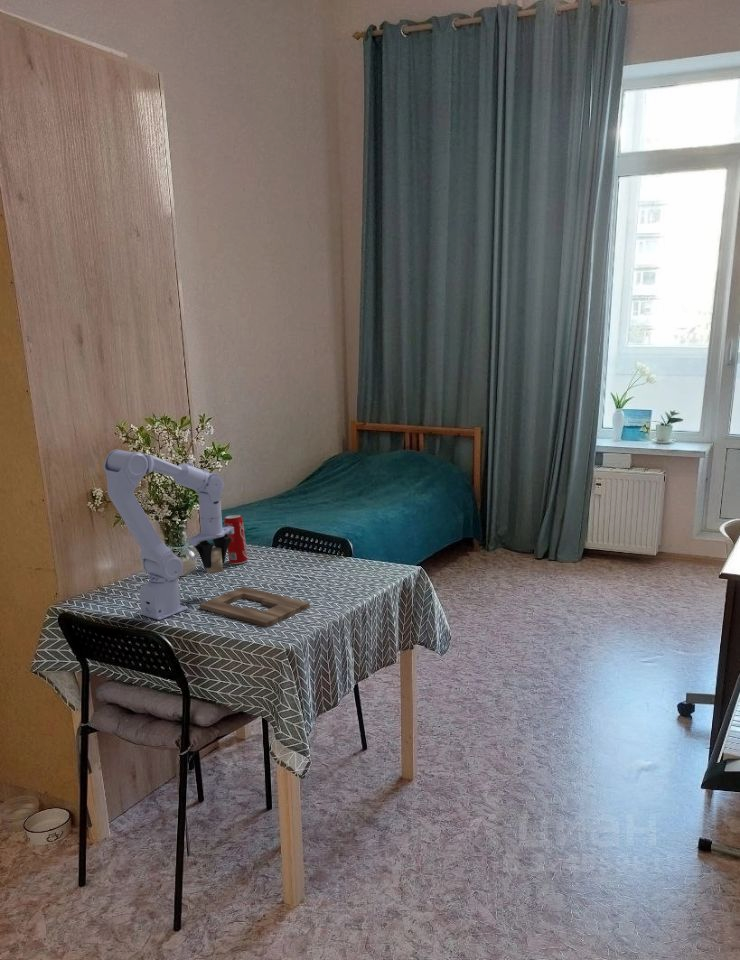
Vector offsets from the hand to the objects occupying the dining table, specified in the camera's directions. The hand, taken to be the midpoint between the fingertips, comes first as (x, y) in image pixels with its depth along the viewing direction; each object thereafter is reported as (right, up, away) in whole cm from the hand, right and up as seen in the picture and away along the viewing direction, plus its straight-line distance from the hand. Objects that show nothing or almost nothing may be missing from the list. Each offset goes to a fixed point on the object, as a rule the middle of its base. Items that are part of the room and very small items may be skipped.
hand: (214, 564), depth 202 cm
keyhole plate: (+13, -10, -9) cm, 19 cm away
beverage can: (+1, -3, +30) cm, 30 cm away
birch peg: (0, -2, 0) cm, 2 cm away
